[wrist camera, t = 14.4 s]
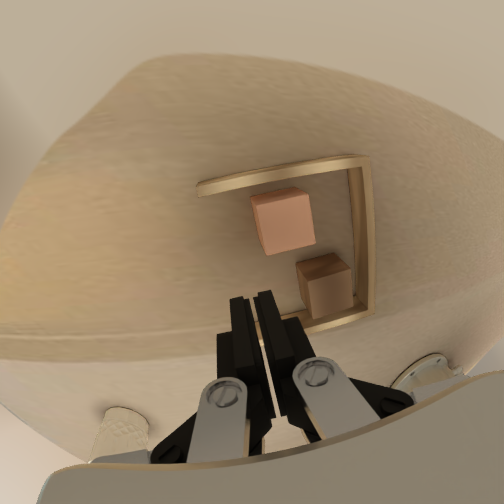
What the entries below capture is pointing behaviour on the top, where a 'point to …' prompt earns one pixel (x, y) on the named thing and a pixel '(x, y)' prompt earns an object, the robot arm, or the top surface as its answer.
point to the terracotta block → (283, 220)
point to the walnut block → (325, 285)
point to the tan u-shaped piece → (361, 227)
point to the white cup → (120, 433)
